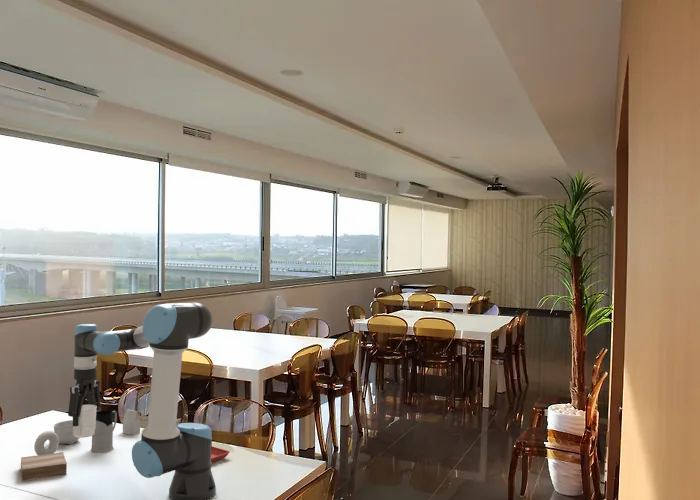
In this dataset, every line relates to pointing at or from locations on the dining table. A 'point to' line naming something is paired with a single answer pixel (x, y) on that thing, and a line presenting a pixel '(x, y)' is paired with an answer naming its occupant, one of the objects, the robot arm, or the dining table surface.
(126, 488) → the dining table surface
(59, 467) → the walnut base
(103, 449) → the gray pitcher
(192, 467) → the robot arm
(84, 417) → the white cup
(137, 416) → the tea bag
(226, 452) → the plant saucer
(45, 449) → the donut
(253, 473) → the dining table surface
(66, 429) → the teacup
